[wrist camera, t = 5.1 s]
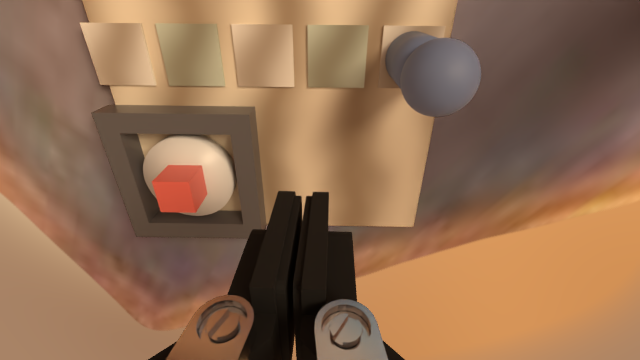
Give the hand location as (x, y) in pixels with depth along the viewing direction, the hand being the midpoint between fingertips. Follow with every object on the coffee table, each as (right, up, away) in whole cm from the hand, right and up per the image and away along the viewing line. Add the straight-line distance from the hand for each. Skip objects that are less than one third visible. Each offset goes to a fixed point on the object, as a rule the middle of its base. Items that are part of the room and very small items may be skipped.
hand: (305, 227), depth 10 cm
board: (-3, +6, +14) cm, 15 cm away
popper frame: (-10, +2, +15) cm, 18 cm away
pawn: (+7, +10, +10) cm, 16 cm away
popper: (-10, +3, +16) cm, 19 cm away
